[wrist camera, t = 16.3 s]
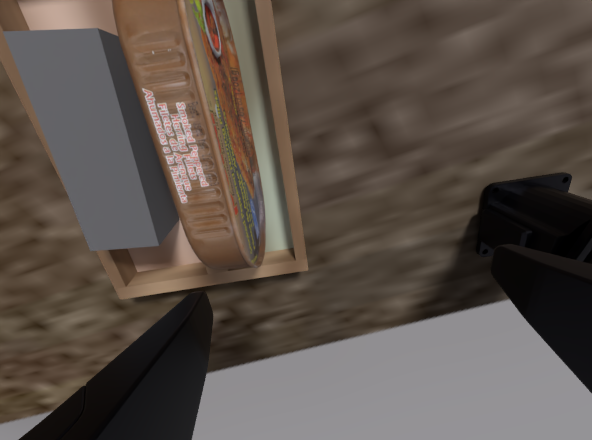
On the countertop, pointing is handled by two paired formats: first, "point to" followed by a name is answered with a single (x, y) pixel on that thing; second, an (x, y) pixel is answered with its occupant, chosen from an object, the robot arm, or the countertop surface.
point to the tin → (198, 123)
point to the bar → (96, 134)
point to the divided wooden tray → (265, 129)
